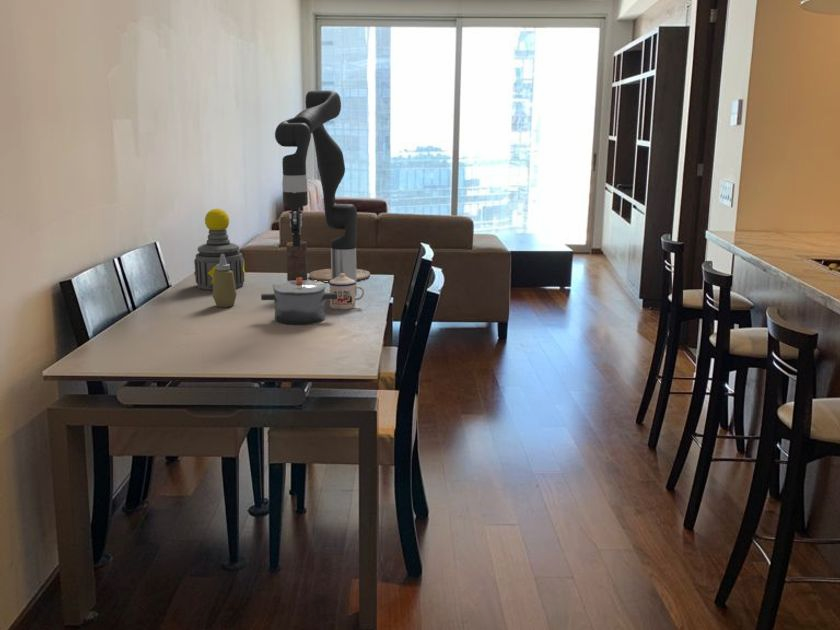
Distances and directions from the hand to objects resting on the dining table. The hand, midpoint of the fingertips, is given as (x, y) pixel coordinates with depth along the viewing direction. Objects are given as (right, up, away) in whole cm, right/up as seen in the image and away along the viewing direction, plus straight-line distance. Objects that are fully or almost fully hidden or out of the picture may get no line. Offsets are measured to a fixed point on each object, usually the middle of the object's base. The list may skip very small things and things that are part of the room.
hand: (296, 246), depth 250 cm
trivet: (+5, -6, +83) cm, 83 cm away
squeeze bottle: (-29, -18, +29) cm, 45 cm away
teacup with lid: (+13, -19, +28) cm, 36 cm away
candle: (-7, -14, +46) cm, 48 cm away
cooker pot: (0, -23, +10) cm, 25 cm away
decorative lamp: (-39, -10, +63) cm, 75 cm away
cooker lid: (0, -13, +8) cm, 15 cm away
